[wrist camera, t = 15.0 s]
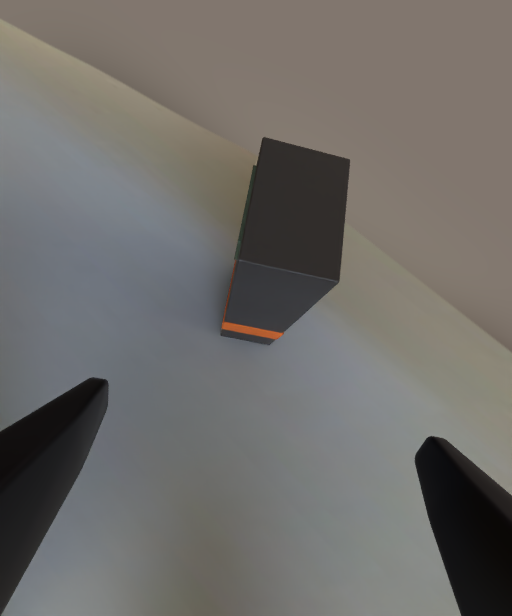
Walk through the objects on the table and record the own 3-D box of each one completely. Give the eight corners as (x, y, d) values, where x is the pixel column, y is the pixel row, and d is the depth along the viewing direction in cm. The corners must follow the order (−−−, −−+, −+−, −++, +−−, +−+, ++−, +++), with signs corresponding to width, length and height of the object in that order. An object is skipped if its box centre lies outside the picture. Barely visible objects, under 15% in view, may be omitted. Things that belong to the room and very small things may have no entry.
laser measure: (280, 276, 25) (352, 158, 13) (270, 346, 23) (341, 284, 11) (232, 266, 24) (260, 134, 12) (218, 336, 23) (233, 260, 11)
